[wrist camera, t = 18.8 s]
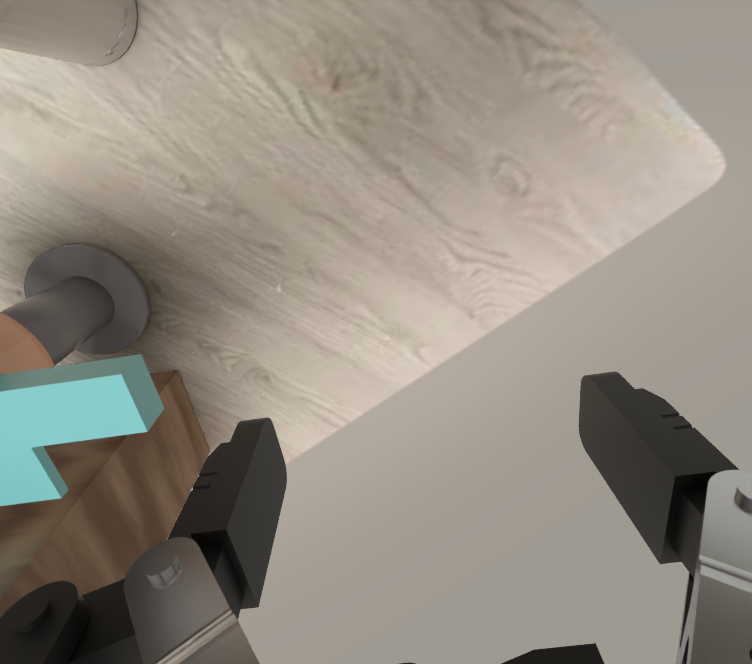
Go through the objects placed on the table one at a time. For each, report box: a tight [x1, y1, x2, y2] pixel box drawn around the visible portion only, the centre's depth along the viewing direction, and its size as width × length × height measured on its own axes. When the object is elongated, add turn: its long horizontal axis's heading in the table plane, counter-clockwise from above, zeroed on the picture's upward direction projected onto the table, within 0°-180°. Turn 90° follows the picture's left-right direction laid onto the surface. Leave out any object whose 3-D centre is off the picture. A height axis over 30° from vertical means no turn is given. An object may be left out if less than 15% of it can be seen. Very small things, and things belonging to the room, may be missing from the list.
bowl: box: [0, 243, 150, 374], centre depth 39 cm, size 12×12×22 cm
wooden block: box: [0, 370, 210, 618], centre depth 41 cm, size 12×12×30 cm
